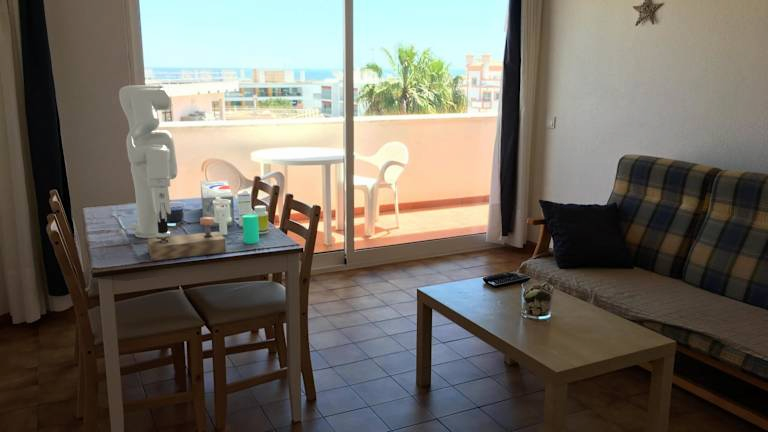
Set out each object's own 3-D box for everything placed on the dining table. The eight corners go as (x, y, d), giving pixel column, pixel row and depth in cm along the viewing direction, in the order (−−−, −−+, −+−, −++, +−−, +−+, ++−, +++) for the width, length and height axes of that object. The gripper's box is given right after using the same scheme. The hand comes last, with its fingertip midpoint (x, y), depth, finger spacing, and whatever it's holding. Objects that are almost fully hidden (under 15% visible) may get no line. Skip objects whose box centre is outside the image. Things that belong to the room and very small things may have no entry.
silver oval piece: (158, 253, 231) (156, 234, 229) (156, 250, 235) (154, 231, 234) (172, 252, 233) (171, 232, 231) (170, 248, 238) (169, 229, 236)
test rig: (152, 260, 227) (151, 247, 226) (148, 252, 238) (147, 238, 237) (225, 251, 238) (225, 238, 237) (219, 243, 249) (218, 231, 248)
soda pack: (201, 208, 311) (200, 180, 308) (229, 206, 315) (227, 179, 312) (204, 228, 274) (202, 196, 270) (234, 226, 277) (233, 194, 274)
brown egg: (202, 239, 237) (201, 220, 235) (200, 236, 241) (198, 217, 240) (216, 237, 239) (215, 219, 237) (213, 234, 243) (212, 216, 242)
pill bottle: (271, 231, 267) (270, 205, 265) (263, 235, 262) (261, 208, 259) (259, 230, 270) (258, 204, 267) (250, 233, 264) (249, 207, 262)
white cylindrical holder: (225, 231, 268) (223, 195, 265) (235, 233, 264) (234, 198, 260) (211, 234, 263) (209, 198, 259) (221, 237, 258) (219, 200, 255)
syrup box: (252, 225, 277) (251, 192, 274) (238, 226, 276) (237, 193, 272) (252, 222, 282) (251, 190, 279) (238, 223, 281) (237, 191, 278)
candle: (255, 244, 249) (254, 213, 246) (241, 243, 250) (239, 213, 247) (261, 240, 254) (260, 210, 252) (247, 239, 256) (245, 209, 253)
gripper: (173, 184, 223) (176, 235, 227) (167, 178, 237) (170, 226, 241) (150, 186, 220) (154, 238, 224) (145, 180, 233) (149, 228, 237)
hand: (163, 232), depth 232 cm, fingers closed
